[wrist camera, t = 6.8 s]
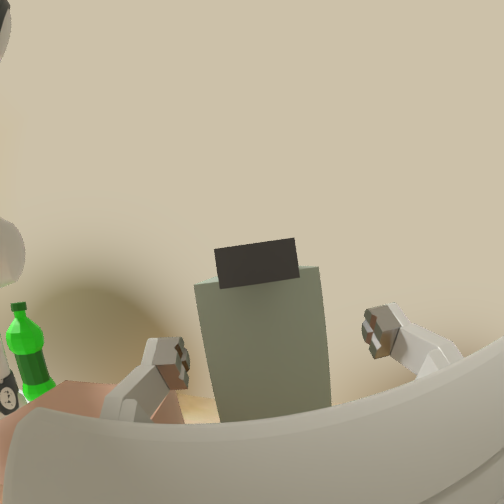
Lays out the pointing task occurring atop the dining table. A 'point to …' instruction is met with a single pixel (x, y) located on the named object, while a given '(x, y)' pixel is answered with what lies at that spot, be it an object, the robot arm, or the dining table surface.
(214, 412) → the dining table surface
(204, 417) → the dining table surface
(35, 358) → the plastic bottle
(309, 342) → the pedestal
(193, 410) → the dining table surface
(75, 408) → the pinkish tan cardboard cube
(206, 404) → the dining table surface
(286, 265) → the domino
